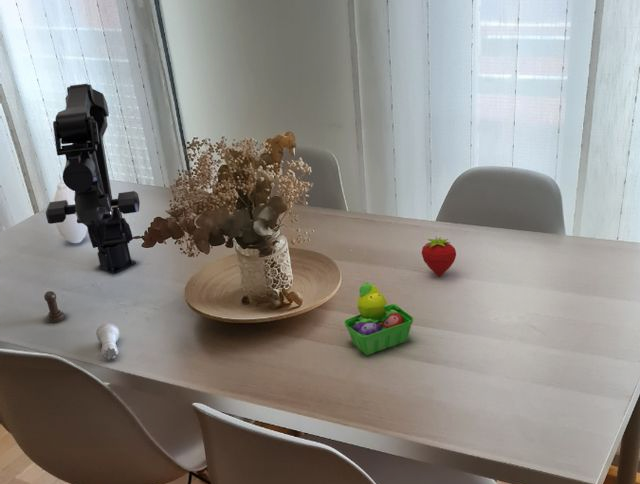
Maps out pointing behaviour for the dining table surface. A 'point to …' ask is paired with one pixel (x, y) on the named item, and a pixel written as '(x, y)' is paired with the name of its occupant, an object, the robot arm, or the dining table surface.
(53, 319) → the walnut pawn
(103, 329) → the rook chess piece
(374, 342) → the fruit basket
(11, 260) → the dining table surface
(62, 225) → the sauce bottle
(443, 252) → the strawberry
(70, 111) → the robot arm
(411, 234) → the dining table surface
